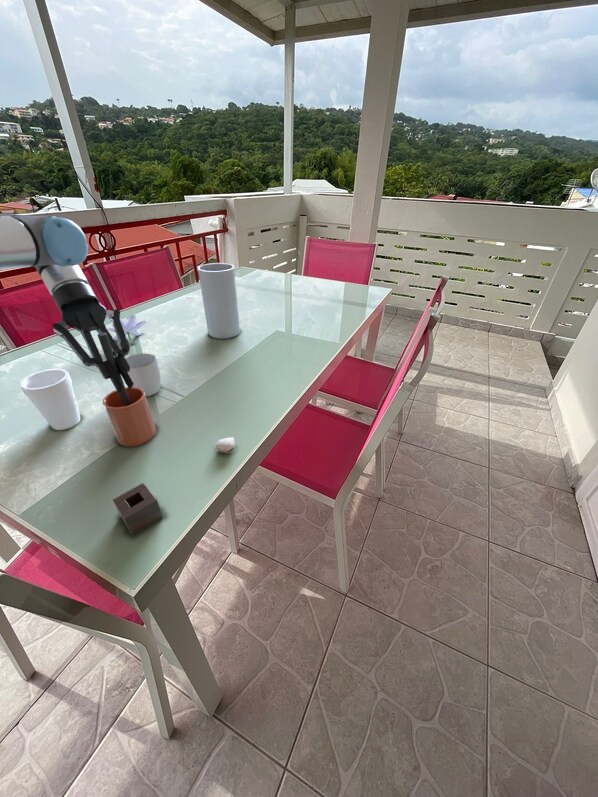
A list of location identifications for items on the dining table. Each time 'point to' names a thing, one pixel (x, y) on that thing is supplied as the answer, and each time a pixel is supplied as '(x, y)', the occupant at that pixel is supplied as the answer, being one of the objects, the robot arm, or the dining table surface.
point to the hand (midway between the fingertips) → (125, 387)
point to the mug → (144, 372)
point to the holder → (138, 508)
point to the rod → (113, 366)
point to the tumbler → (130, 417)
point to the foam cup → (53, 397)
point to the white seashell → (225, 445)
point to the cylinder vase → (220, 299)
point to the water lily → (129, 327)
